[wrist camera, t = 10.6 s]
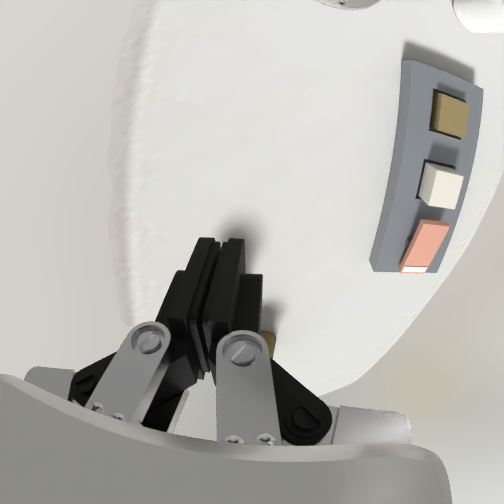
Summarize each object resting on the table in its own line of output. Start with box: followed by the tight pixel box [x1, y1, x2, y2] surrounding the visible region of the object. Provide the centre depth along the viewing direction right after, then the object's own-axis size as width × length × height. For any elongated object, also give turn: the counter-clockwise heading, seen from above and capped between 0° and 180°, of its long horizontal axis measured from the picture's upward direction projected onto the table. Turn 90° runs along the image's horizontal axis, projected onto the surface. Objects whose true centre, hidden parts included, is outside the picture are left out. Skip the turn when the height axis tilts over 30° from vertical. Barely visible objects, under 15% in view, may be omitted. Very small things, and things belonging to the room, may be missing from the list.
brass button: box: [429, 92, 469, 139], centre depth 25 cm, size 5×5×3 cm
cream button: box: [418, 162, 464, 210], centre depth 29 cm, size 5×5×3 cm
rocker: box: [398, 219, 450, 273], centre depth 34 cm, size 10×5×1 cm, turn 0°
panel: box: [369, 59, 483, 273], centre depth 31 cm, size 32×13×4 cm, turn 0°
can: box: [453, 0, 504, 33], centre depth 11 cm, size 6×6×12 cm
